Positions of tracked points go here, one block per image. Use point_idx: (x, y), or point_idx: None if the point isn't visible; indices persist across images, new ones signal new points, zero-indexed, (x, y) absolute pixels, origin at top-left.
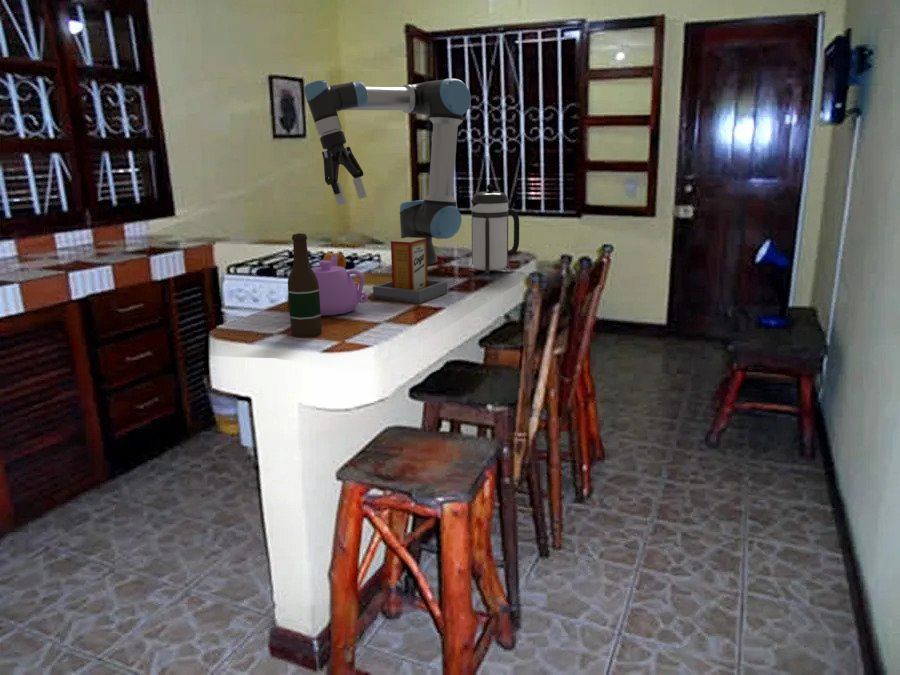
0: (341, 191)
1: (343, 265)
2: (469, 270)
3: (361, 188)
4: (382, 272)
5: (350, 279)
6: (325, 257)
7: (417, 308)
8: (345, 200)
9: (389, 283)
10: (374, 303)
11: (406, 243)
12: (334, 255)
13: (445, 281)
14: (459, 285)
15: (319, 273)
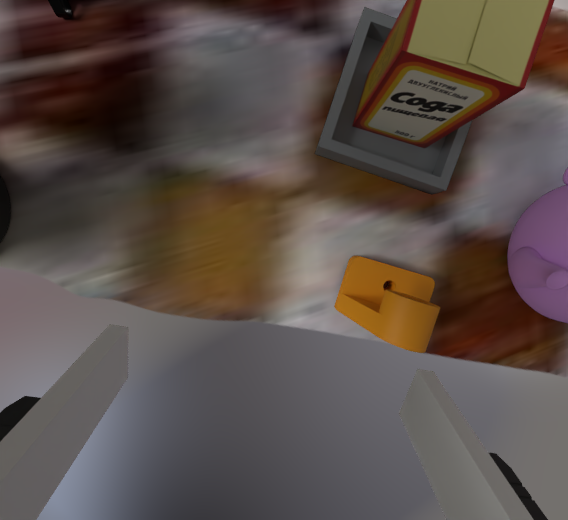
0: (482, 445)
1: (396, 292)
2: (66, 16)
3: (88, 391)
4: (118, 264)
5: None
6: (426, 346)
7: None
8: (429, 382)
9: (394, 162)
10: (480, 176)
11: (544, 19)
12: (546, 285)
13: (365, 12)
14: (263, 13)
15: None
